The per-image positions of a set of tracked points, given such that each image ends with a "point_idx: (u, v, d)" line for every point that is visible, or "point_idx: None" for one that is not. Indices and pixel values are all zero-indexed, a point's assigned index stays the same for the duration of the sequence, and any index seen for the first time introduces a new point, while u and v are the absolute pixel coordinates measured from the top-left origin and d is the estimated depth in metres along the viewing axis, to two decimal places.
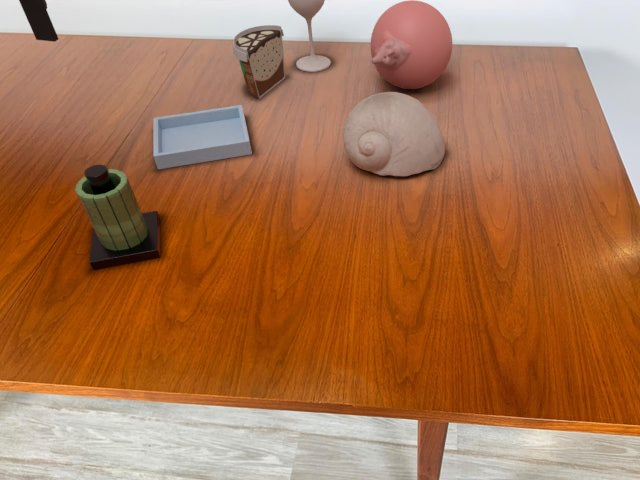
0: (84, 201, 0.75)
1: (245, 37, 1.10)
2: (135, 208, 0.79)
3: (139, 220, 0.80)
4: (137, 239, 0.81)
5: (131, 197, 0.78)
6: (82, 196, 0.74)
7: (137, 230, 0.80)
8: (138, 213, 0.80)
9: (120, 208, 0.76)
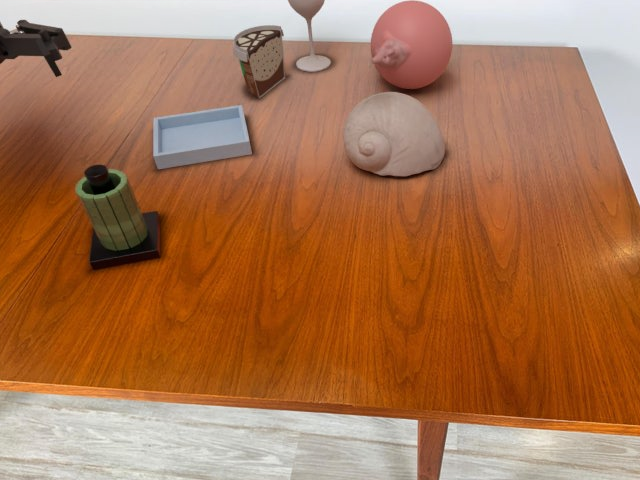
0: (84, 201, 0.75)
1: (245, 37, 1.10)
2: (135, 208, 0.79)
3: (139, 220, 0.80)
4: (137, 239, 0.81)
5: (131, 197, 0.78)
6: (82, 196, 0.74)
7: (137, 230, 0.80)
8: (138, 213, 0.80)
9: (120, 208, 0.76)
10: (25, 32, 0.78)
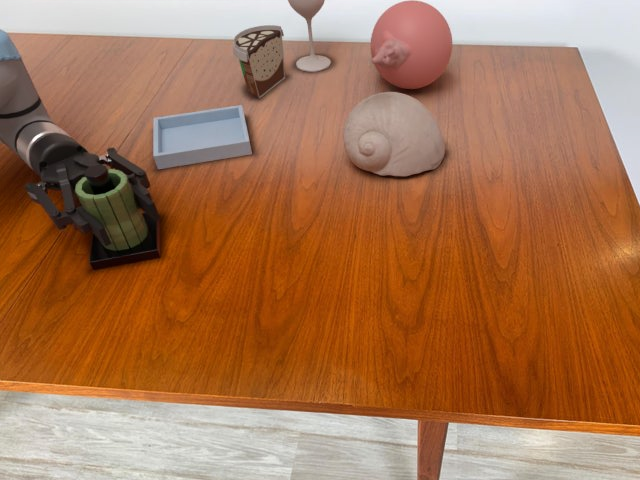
0: (84, 201, 0.75)
1: (245, 37, 1.10)
2: (135, 208, 0.79)
3: (139, 220, 0.80)
4: (137, 239, 0.81)
5: (131, 197, 0.78)
6: (82, 196, 0.74)
7: (137, 230, 0.80)
8: (138, 213, 0.80)
9: (120, 208, 0.76)
10: (112, 161, 0.86)
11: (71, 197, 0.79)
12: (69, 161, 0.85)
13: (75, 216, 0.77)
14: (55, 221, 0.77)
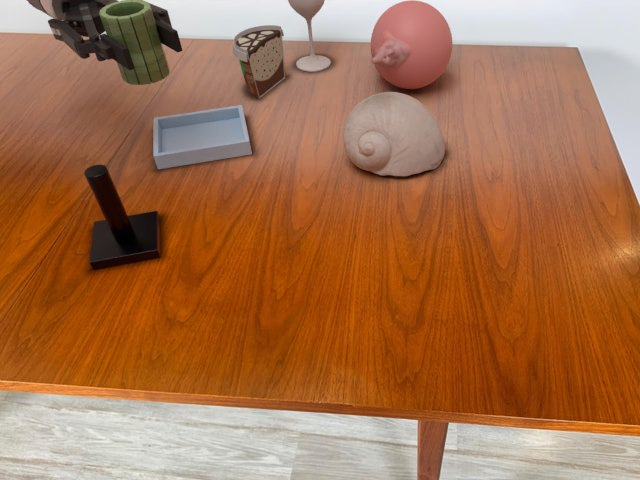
0: (108, 24, 0.75)
1: (245, 37, 1.10)
2: (158, 40, 0.79)
3: (161, 54, 0.80)
4: (159, 75, 0.81)
5: (154, 26, 0.78)
6: (106, 17, 0.74)
7: (159, 64, 0.80)
8: (161, 47, 0.80)
9: (143, 34, 0.76)
10: None
11: (94, 28, 0.79)
12: (91, 4, 0.85)
13: (98, 42, 0.77)
14: (79, 48, 0.77)
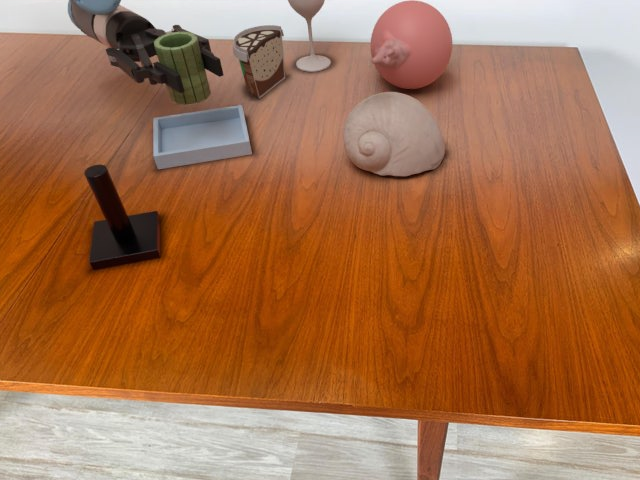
0: (162, 54, 0.87)
1: (245, 37, 1.10)
2: (203, 66, 0.92)
3: (205, 78, 0.93)
4: (203, 95, 0.93)
5: (200, 54, 0.90)
6: (161, 48, 0.87)
7: (203, 87, 0.93)
8: (204, 71, 0.92)
9: (191, 62, 0.89)
10: None
11: (147, 56, 0.91)
12: (140, 34, 0.98)
13: (153, 69, 0.89)
14: (135, 74, 0.89)
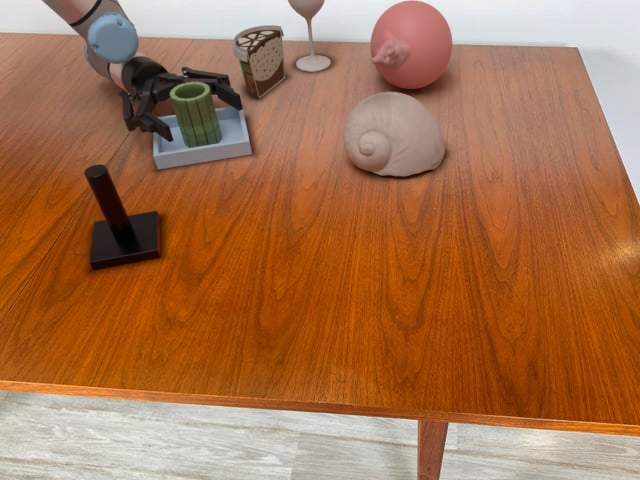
0: (178, 104, 0.93)
1: (245, 37, 1.10)
2: (215, 114, 0.98)
3: (217, 124, 0.99)
4: (214, 141, 0.99)
5: (212, 103, 0.96)
6: (176, 99, 0.93)
7: (215, 132, 0.99)
8: (216, 118, 0.98)
9: (205, 111, 0.95)
10: (190, 76, 1.05)
11: (144, 105, 0.96)
12: (154, 78, 1.03)
13: (143, 119, 0.94)
14: (126, 123, 0.94)
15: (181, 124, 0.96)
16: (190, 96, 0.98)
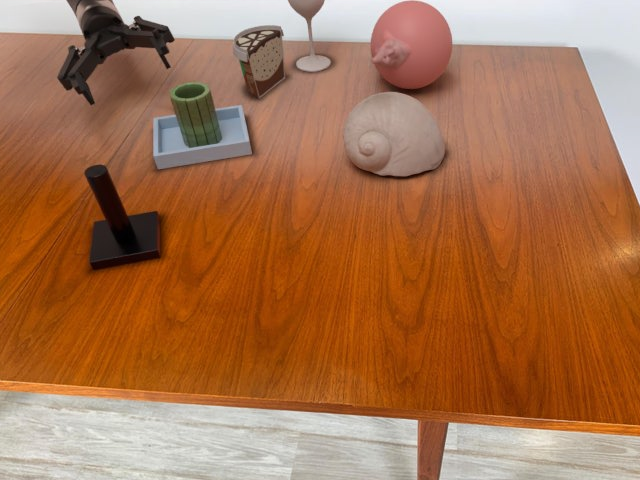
0: (178, 104, 0.93)
1: (245, 37, 1.10)
2: (215, 114, 0.98)
3: (217, 124, 0.99)
4: (214, 141, 0.99)
5: (212, 103, 0.96)
6: (176, 99, 0.93)
7: (215, 132, 0.99)
8: (216, 118, 0.98)
9: (205, 111, 0.95)
10: (140, 27, 1.03)
11: (80, 64, 0.98)
12: (106, 30, 1.03)
13: (73, 79, 0.96)
14: (61, 83, 0.97)
15: (181, 124, 0.96)
16: (190, 96, 0.98)
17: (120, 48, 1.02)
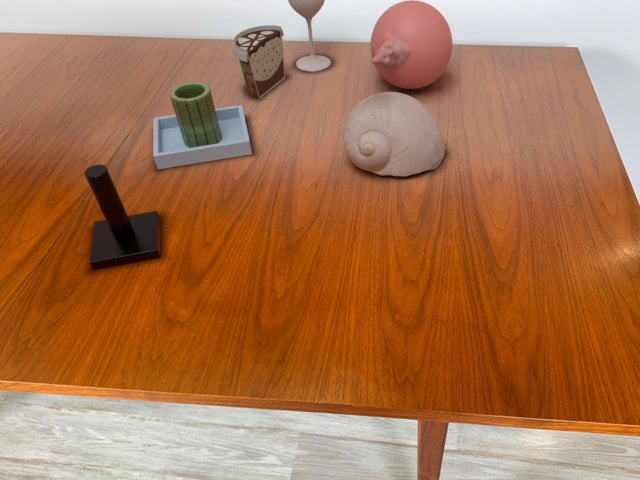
0: (178, 104, 0.93)
1: (245, 37, 1.10)
2: (215, 114, 0.98)
3: (217, 124, 0.99)
4: (214, 141, 0.99)
5: (212, 103, 0.96)
6: (176, 99, 0.93)
7: (215, 132, 0.99)
8: (216, 118, 0.98)
9: (205, 111, 0.95)
10: None
11: None
12: None
13: None
14: None
15: (181, 124, 0.96)
16: (190, 96, 0.98)
17: None
